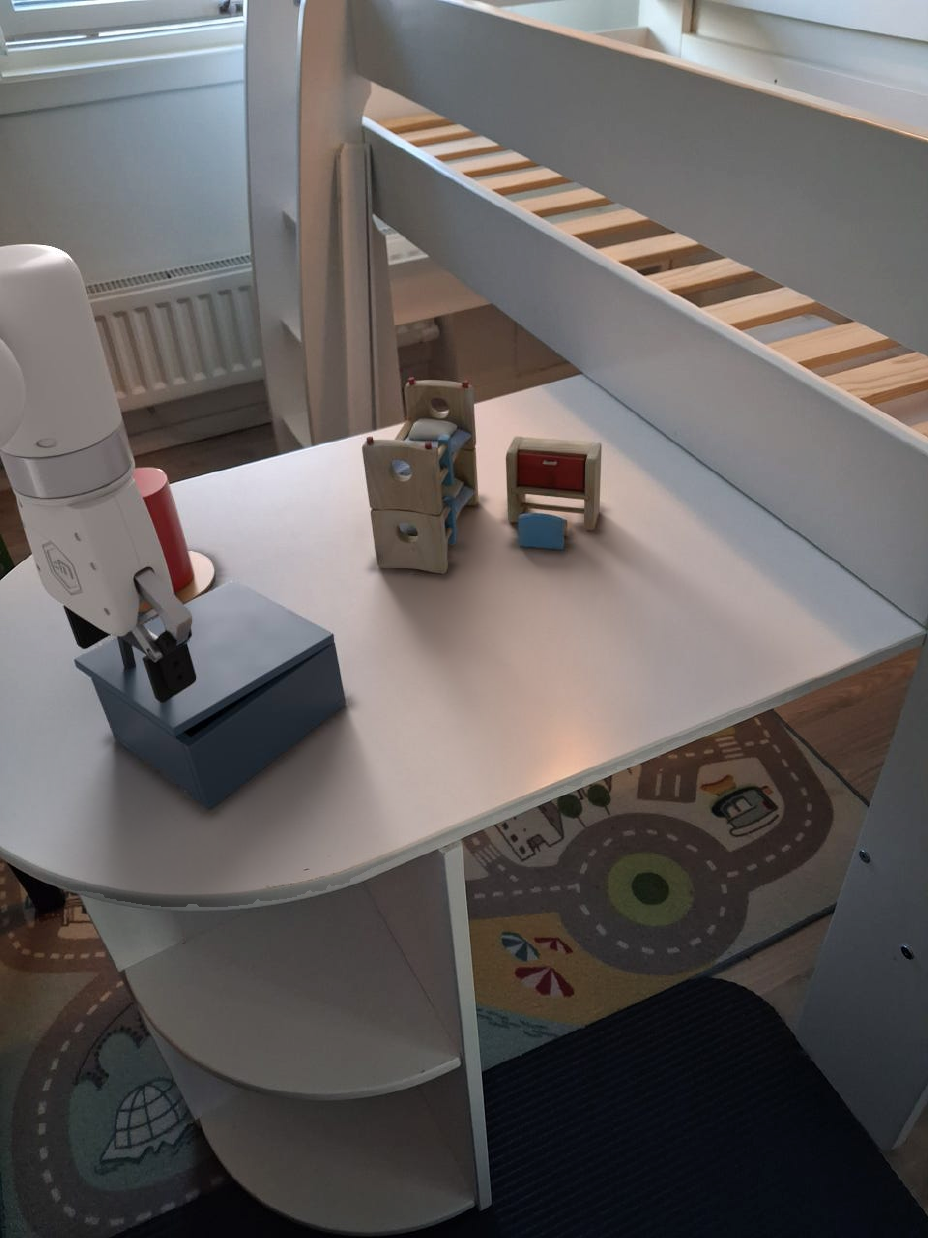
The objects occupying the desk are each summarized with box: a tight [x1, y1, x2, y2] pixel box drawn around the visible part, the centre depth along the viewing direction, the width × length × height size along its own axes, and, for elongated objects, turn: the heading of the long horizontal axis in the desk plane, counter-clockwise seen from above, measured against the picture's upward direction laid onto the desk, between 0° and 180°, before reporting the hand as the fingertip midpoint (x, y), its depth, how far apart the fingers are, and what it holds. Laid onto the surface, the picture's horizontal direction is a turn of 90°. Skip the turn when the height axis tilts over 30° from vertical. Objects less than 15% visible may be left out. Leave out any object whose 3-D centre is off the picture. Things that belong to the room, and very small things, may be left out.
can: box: [132, 467, 194, 593], centre depth 95 cm, size 6×6×11 cm
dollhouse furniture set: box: [361, 377, 603, 575], centre depth 97 cm, size 14×20×14 cm
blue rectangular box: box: [90, 641, 347, 811], centre depth 81 cm, size 15×13×7 cm
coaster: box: [138, 550, 216, 613], centre depth 99 cm, size 10×10×1 cm
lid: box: [73, 579, 335, 737], centre depth 76 cm, size 15×13×5 cm
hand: (136, 664), depth 72 cm, fingers open, 9 cm apart
